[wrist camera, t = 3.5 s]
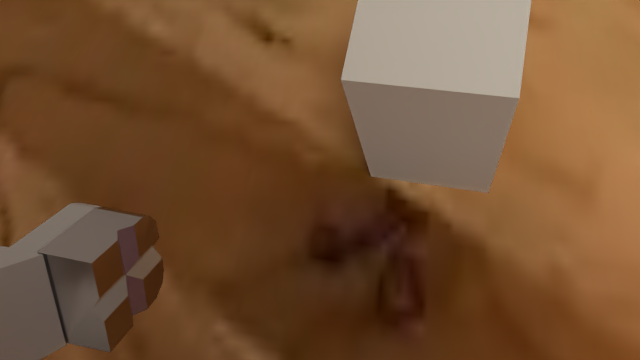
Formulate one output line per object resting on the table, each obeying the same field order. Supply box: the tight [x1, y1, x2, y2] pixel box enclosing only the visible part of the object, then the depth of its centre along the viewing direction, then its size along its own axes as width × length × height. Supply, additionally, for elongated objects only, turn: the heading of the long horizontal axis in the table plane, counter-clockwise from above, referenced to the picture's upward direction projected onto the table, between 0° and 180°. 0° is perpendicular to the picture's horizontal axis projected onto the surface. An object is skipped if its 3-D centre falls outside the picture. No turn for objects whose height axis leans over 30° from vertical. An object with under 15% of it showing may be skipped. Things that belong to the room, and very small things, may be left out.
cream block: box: [341, 0, 531, 193], centre depth 19 cm, size 4×4×8 cm
